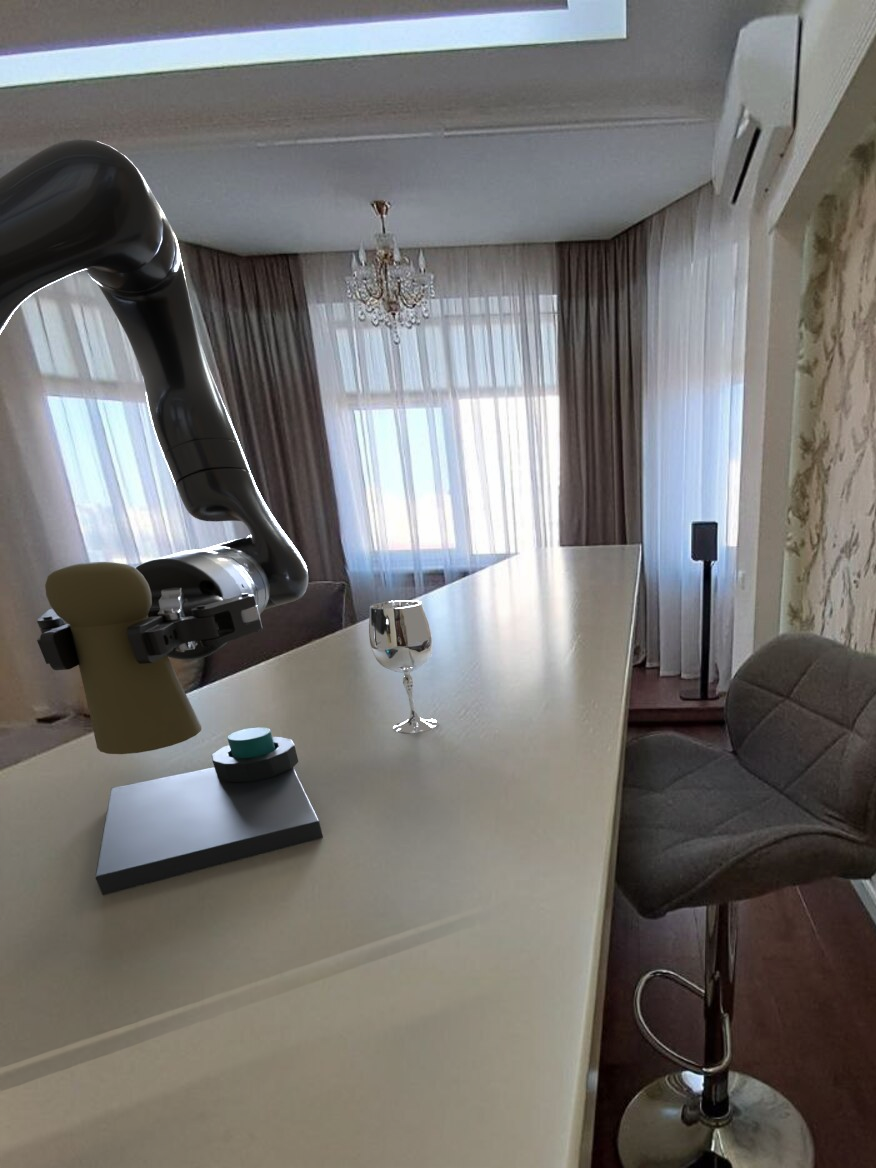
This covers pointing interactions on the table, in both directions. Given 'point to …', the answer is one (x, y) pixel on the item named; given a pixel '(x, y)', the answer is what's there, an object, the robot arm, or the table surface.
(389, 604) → the wineglass
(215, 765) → the scale
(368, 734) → the table surface
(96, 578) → the cork
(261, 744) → the button
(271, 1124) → the table surface
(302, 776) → the table surface
